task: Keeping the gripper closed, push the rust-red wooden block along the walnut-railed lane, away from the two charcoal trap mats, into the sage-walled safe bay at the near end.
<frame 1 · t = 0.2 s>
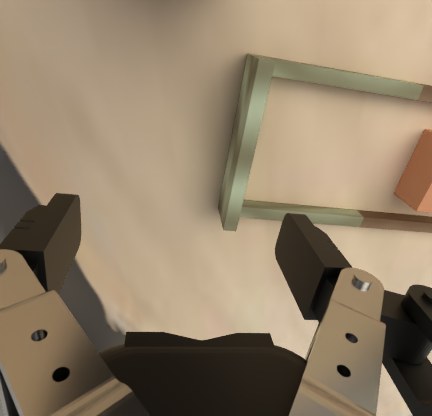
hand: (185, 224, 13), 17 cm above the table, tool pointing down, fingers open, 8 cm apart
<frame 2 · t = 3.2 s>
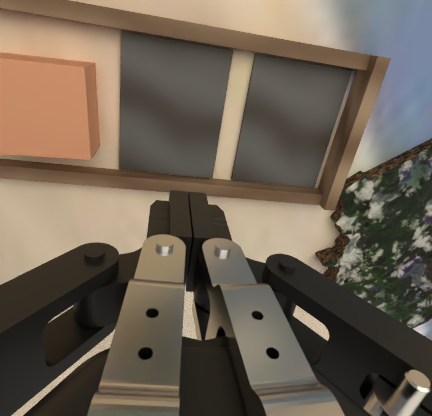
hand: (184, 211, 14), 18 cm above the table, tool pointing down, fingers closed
lane: (84, 101, 27), on the table
block: (55, 102, 27), resting in lane
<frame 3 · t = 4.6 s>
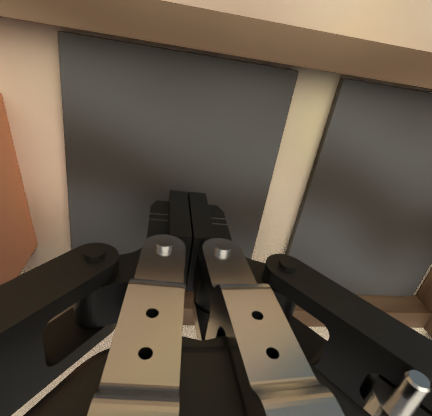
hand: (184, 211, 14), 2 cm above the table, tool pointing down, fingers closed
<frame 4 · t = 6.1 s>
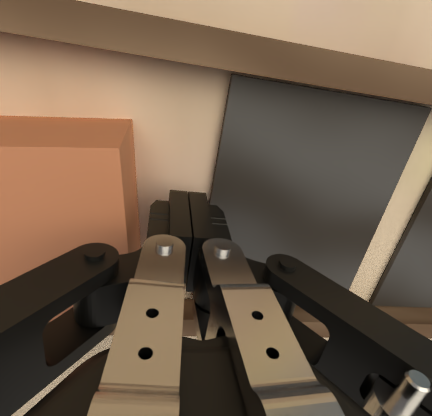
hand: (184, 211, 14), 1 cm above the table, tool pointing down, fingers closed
lane: (144, 198, 15), on the table
block: (57, 195, 14), resting in lane, touching gripper
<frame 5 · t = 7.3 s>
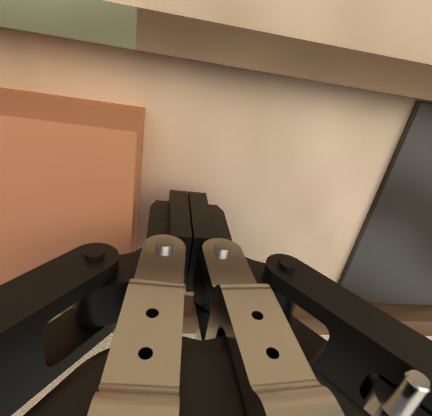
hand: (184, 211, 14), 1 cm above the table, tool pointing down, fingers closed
lane: (314, 210, 16), on the table
block: (58, 176, 14), resting in lane, touching gripper
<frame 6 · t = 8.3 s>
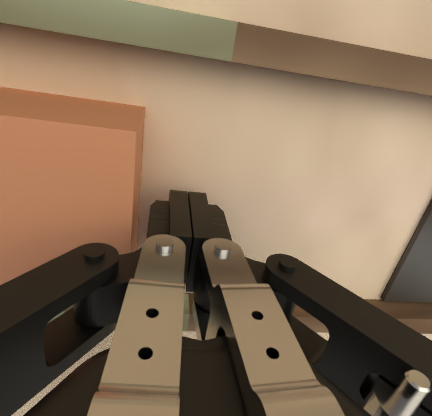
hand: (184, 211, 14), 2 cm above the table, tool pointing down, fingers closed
lane: (373, 212, 17), on the table
block: (59, 175, 14), resting in lane
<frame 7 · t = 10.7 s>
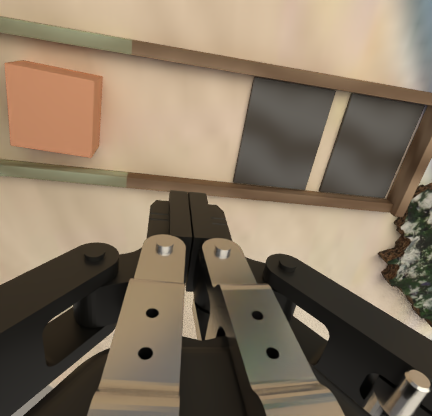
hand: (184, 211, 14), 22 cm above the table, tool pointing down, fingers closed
lane: (216, 129, 35), on the table
block: (64, 105, 32), resting in lane
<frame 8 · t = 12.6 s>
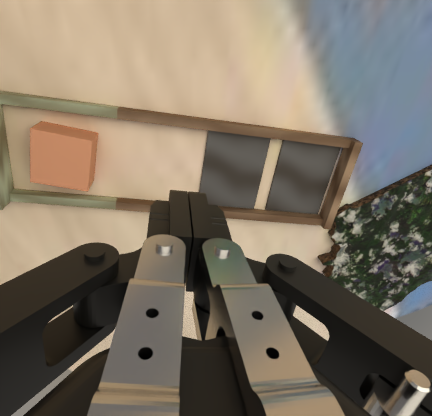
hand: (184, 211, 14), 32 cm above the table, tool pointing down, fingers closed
lane: (182, 166, 46), on the table
block: (69, 151, 44), resting in lane
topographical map: (405, 230, 58), on the table
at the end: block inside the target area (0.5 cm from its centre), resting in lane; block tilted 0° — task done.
